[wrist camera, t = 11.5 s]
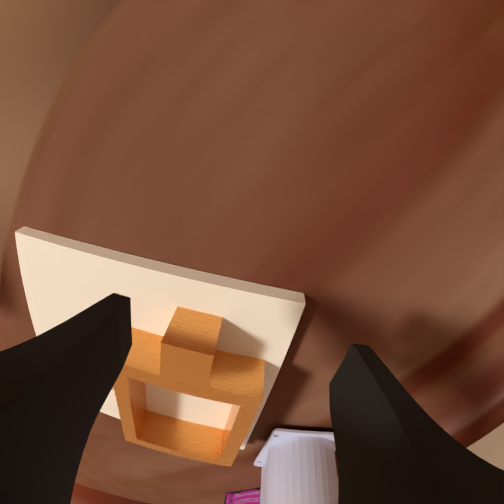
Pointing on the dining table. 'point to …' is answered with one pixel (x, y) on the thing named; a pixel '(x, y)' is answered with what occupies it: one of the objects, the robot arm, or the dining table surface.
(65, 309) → the board
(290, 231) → the dining table surface
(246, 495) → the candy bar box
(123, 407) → the wooden link
